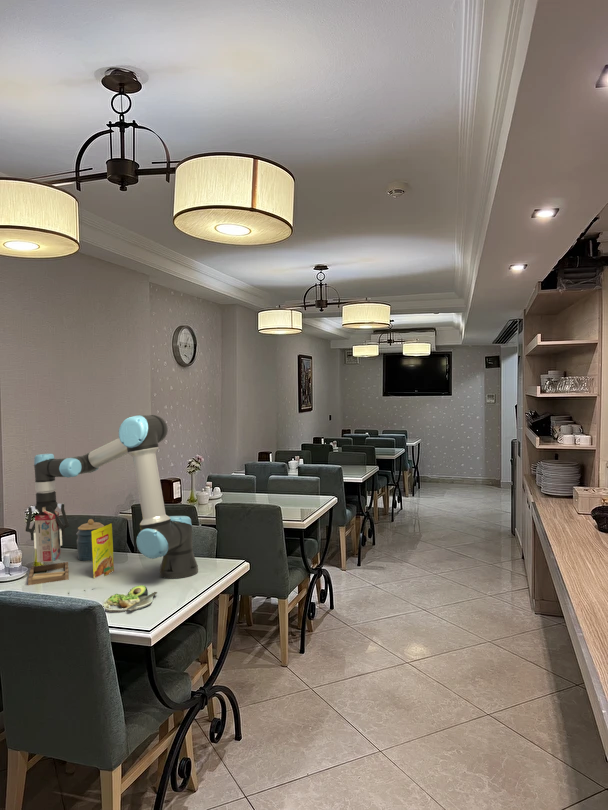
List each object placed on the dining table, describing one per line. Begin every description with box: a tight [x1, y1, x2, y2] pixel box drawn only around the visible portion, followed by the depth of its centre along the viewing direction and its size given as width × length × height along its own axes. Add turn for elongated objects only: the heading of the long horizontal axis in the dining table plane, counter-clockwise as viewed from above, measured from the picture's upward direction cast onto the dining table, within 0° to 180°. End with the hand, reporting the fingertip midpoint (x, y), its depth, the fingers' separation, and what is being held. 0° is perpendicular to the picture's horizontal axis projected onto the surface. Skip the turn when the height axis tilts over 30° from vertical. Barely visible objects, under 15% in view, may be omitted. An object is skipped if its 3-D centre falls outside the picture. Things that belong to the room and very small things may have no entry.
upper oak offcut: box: [32, 570, 65, 580], centre depth 233 cm, size 5×11×2 cm, turn 101°
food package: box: [91, 522, 115, 579], centre depth 239 cm, size 15×1×20 cm, turn 168°
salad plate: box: [102, 584, 158, 613], centre depth 202 cm, size 19×18×5 cm
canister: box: [75, 518, 105, 562], centre depth 271 cm, size 13×13×18 cm
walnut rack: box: [27, 561, 70, 586], centre depth 238 cm, size 21×14×4 cm
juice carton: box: [34, 507, 62, 563], centre depth 242 cm, size 7×7×22 cm
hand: (48, 546), depth 242 cm, fingers closed on juice carton, 9 cm apart
